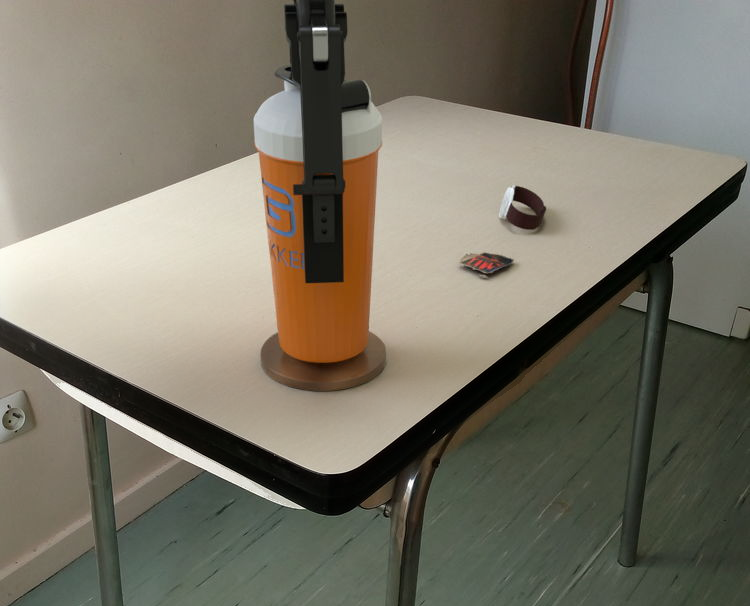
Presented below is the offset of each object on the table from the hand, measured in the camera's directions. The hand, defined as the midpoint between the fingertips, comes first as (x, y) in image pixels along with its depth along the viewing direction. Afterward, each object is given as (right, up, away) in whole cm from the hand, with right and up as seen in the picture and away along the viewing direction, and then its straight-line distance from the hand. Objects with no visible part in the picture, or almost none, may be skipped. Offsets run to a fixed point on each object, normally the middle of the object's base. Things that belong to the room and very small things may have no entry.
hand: (321, 253), depth 75 cm
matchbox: (+14, +4, +20) cm, 25 cm away
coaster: (0, -7, +5) cm, 9 cm away
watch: (+19, +10, +30) cm, 37 cm away
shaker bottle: (0, -6, +5) cm, 8 cm away
